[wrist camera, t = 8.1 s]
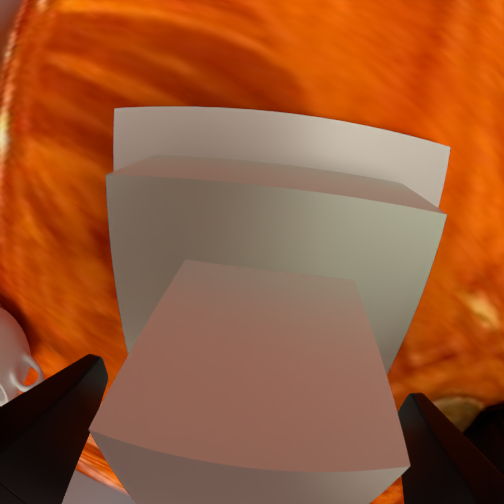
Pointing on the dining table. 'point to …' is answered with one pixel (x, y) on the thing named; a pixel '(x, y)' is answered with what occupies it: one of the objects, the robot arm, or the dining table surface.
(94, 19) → the dining table surface
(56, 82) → the dining table surface
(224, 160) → the base brick
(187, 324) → the pink brick
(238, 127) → the base plate
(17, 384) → the teacup
